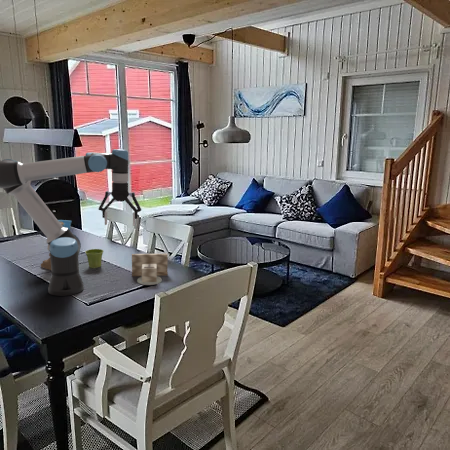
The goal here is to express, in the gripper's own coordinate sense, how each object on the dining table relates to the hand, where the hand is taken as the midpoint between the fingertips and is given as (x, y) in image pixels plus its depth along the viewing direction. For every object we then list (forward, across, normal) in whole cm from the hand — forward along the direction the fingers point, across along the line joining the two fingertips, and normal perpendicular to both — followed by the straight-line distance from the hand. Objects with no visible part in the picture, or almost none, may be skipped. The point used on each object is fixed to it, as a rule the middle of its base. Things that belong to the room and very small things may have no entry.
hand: (120, 224), depth 196 cm
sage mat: (+27, -15, +6) cm, 31 cm away
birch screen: (+27, -15, -3) cm, 31 cm away
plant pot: (+28, +16, -16) cm, 36 cm away
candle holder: (+28, +36, -17) cm, 49 cm away
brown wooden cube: (+26, -15, +6) cm, 31 cm away
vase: (+28, +38, -39) cm, 61 cm away
